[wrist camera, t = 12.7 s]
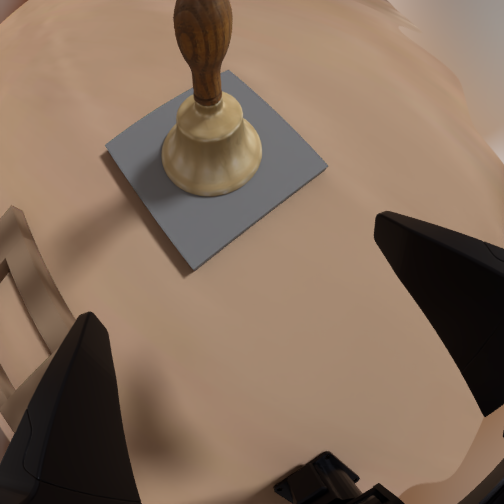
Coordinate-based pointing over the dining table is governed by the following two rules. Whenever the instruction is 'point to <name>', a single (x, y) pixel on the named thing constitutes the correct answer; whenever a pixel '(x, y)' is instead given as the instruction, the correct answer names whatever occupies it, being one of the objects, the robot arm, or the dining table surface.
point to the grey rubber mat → (223, 206)
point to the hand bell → (208, 109)
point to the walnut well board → (29, 306)
